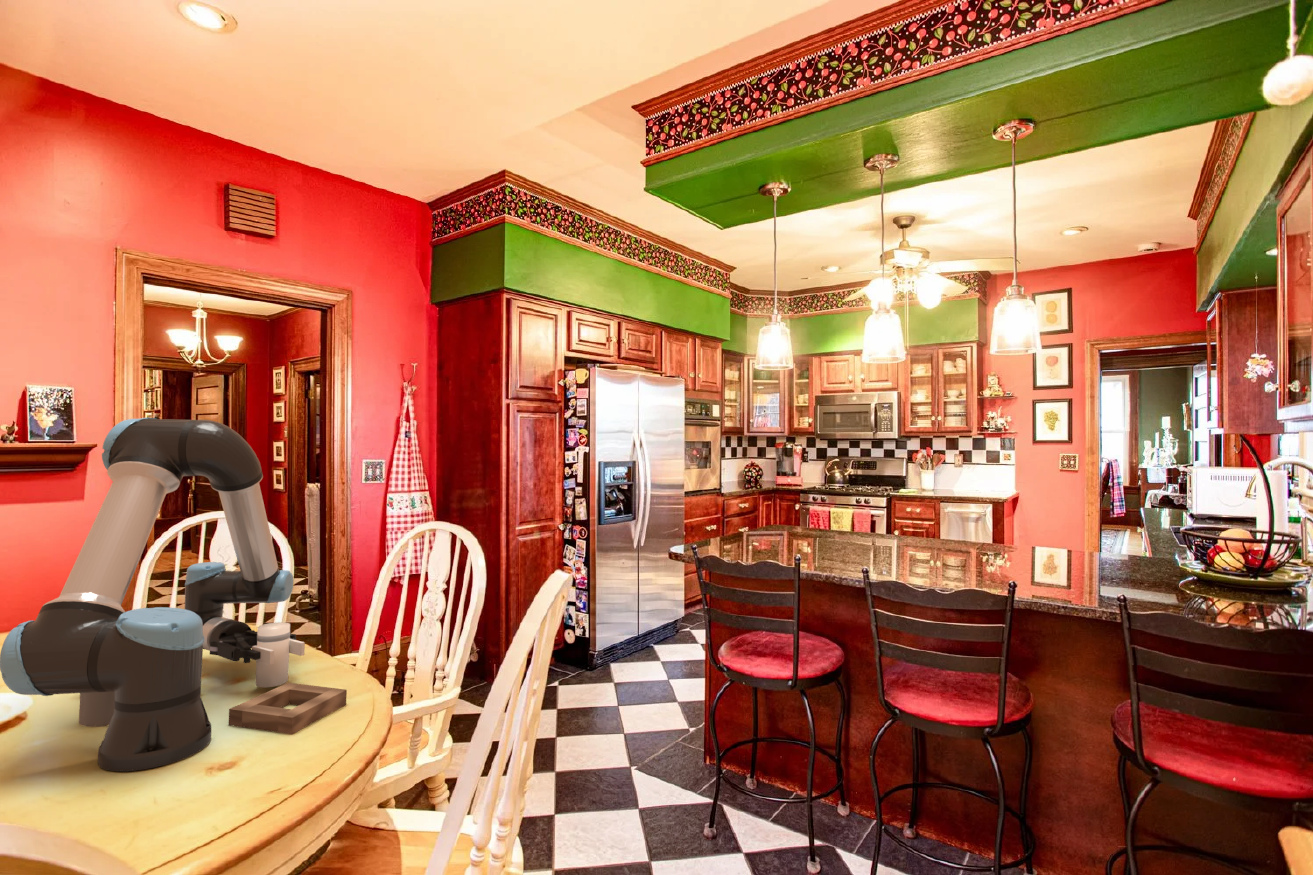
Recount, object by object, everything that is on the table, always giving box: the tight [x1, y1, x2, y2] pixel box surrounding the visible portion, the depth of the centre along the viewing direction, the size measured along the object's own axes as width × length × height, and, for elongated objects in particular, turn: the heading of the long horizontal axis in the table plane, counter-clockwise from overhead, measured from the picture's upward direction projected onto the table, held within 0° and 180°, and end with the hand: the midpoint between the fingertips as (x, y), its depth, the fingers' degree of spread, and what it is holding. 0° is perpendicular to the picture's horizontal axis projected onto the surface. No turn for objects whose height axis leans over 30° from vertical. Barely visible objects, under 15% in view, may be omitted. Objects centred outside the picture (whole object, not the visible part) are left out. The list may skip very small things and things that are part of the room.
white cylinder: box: [255, 621, 291, 688], centre depth 136 cm, size 6×6×12 cm
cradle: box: [228, 682, 348, 735], centre depth 123 cm, size 14×14×3 cm
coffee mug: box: [78, 692, 115, 728], centre depth 122 cm, size 13×10×10 cm
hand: (287, 653), depth 134 cm, fingers closed on white cylinder, 6 cm apart
